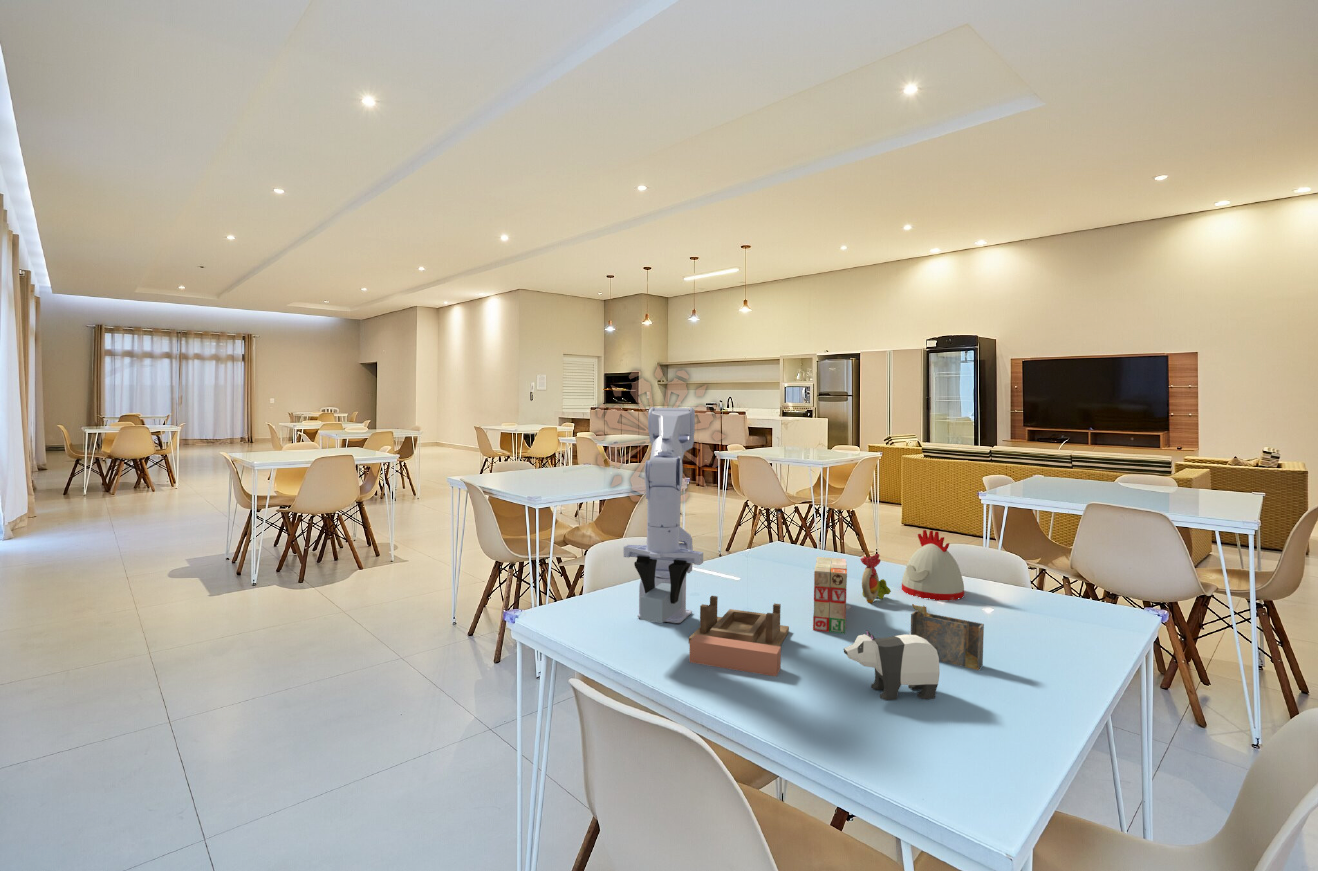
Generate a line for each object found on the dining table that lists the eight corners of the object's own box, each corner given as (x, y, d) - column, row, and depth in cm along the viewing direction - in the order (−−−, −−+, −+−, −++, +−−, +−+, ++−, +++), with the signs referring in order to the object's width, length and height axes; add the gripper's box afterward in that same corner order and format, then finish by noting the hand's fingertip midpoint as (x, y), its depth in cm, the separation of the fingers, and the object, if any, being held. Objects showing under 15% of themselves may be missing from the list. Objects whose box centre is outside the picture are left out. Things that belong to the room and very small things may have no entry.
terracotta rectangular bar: (689, 663, 109) (689, 640, 109) (695, 656, 112) (696, 634, 112) (776, 677, 103) (776, 653, 103) (780, 669, 107) (780, 646, 107)
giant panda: (927, 684, 101) (929, 625, 101) (945, 700, 95) (946, 637, 95) (837, 685, 100) (838, 625, 100) (849, 701, 95) (851, 638, 94)
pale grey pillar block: (640, 619, 109) (640, 596, 109) (661, 603, 118) (662, 582, 118) (662, 622, 108) (662, 599, 107) (681, 606, 117) (682, 585, 117)
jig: (688, 643, 118) (689, 610, 118) (710, 620, 131) (711, 590, 131) (774, 656, 112) (774, 621, 112) (788, 631, 125) (789, 600, 125)
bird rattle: (884, 614, 143) (893, 589, 150) (879, 573, 139) (889, 550, 146) (856, 609, 146) (866, 585, 153) (851, 569, 142) (862, 547, 149)
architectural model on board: (909, 656, 114) (910, 603, 113) (914, 651, 116) (915, 599, 116) (978, 673, 107) (980, 616, 106) (982, 667, 109) (984, 611, 109)
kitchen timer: (926, 582, 163) (927, 524, 163) (976, 595, 151) (978, 533, 151) (889, 589, 156) (891, 528, 156) (939, 604, 144) (941, 538, 144)
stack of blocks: (816, 600, 146) (818, 547, 146) (845, 603, 144) (846, 549, 144) (812, 631, 126) (814, 569, 125) (845, 634, 124) (847, 572, 123)
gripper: (616, 525, 111) (615, 601, 112) (694, 531, 106) (693, 612, 107) (632, 518, 118) (632, 591, 119) (707, 524, 113) (706, 600, 113)
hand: (662, 600), depth 113 cm, fingers closed on pale grey pillar block, 4 cm apart
